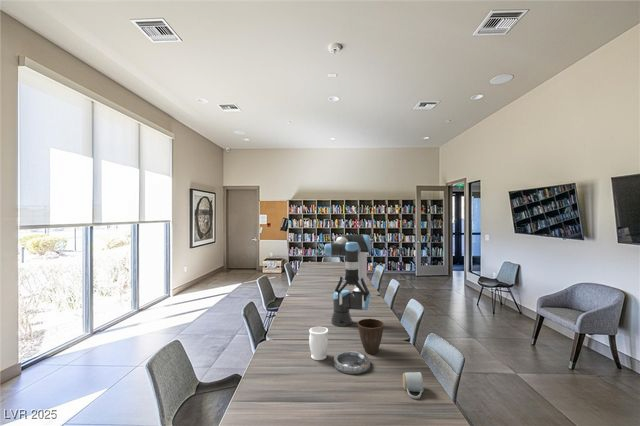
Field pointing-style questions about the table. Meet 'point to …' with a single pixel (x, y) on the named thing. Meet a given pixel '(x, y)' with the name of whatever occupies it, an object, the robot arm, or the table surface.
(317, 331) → the jar
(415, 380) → the ceramic mug
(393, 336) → the table surface
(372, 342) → the plant pot
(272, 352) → the table surface
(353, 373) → the grey shallow round dish
